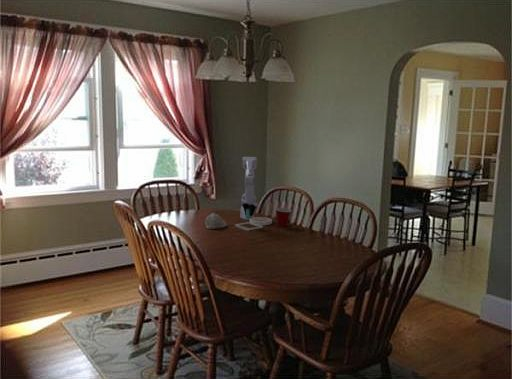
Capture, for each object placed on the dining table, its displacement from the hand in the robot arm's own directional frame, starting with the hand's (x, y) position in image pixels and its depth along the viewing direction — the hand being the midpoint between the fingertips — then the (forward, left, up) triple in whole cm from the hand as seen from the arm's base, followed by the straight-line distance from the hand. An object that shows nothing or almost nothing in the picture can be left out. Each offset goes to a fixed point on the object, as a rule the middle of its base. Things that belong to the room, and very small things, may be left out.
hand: (249, 215), depth 301 cm
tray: (0, 0, -8) cm, 8 cm away
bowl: (-4, +14, -8) cm, 17 cm away
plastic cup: (+11, +20, -8) cm, 24 cm away
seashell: (-16, -16, -9) cm, 24 cm away
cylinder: (0, 0, -2) cm, 2 cm away
